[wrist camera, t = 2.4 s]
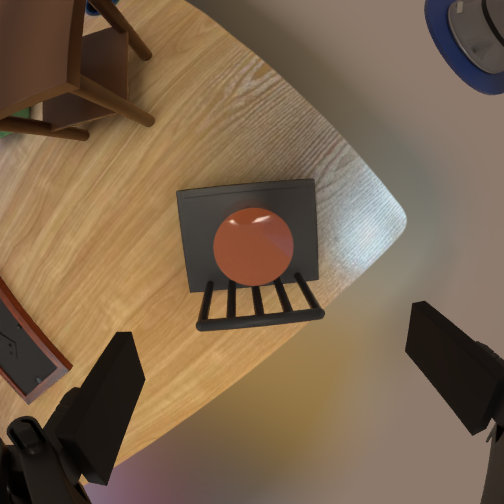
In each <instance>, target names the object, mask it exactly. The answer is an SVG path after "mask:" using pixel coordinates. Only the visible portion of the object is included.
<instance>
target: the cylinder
mask: <svg viewBox="0 0 504 504" xmlns="http://www.w3.org/2000/svg"><path fill="white" fill-rule="evenodd" d="M213 249H214V256H215V260H216V262H217V264H218V266H219V268H220V269H221V271H222V272H223V273H224V274H225V275H226V276H227V277H228V278H230V279H231V280H233V281H235V282H237V283H239V284H243V285H248V286H258V285H263V284H267V283H269V282H271V281H273V280H275V279H277V278H278V277H279V276H280V275H281V274H282V273H283V272H284V271H285V270H286V269H287V267H288V265H289V264H290V261H291V259H292V255H293V249H294V244H293V237H292V234H291V231H290V229H289V227H288V226H287V224H286V223H285V222H284V221H283V220H282V218H281V217H280V216H279V215H278V214H277V213H276V212H275V211H274V210H273V209H272V208H271V207H270V206H269V205H267V204H266V203H264V202H262V201H259V200H255V199H244V200H240V201H238V202H235V203H234V204H232V205H231V206H230V207H228V208H227V209H226V211H225V212H224V213H223V215H222V217H221V220H220V223H219V226H218V229H217V232H216V235H215V239H214V246H213Z"/></svg>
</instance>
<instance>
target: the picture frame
mask: <svg viewBox="0 0 504 504" xmlns="http://www.w3.org/2000/svg"><path fill="white" fill-rule="evenodd" d="M72 367H73V366H72V365H71V363H70V362H69V361H68V360H67V359H66V358H65V357H64V356H63V355H62V354H61V353H60V352H59V351H58V350H57V348H56V347H55V346H54V345H53V344H52V343H51V342H50V341H49V339H48V338H47V337H46V336H45V335H44V334H43V332H42V331H41V330H40V329H39V328H38V326H37V325H36V324H35V323H34V322H33V320H32V319H31V318H30V317H29V315H28V314H27V313H26V311H25V310H24V309H23V308H22V306H21V305H20V304H19V302H18V301H17V300H16V298H15V297H14V295H13V294H12V293H11V291H10V290H9V289H8V287H7V286H6V284H5V283H4V281H3V280H2V278H1V277H0V375H1V376H2V377H3V378H4V379H5V380H6V381H7V383H8V384H9V385H10V386H11V387H12V388H13V389H14V390H15V391H16V392H17V393H18V394H19V396H20V397H21V398H22V399H23V400H24V401H25V402H26V403H27V404H28V405H29V404H30V403H31V402H33V401H34V400H35V399H36V398H37V397H39V396H40V395H41V394H42V393H43V392H45V391H46V390H47V389H48V388H49V387H51V386H52V385H53V384H54V383H55V382H57V381H58V380H59V379H60V378H62V377H63V376H64V375H65V374H66V373H68V372H69V371H70V369H71V368H72Z"/></svg>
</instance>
